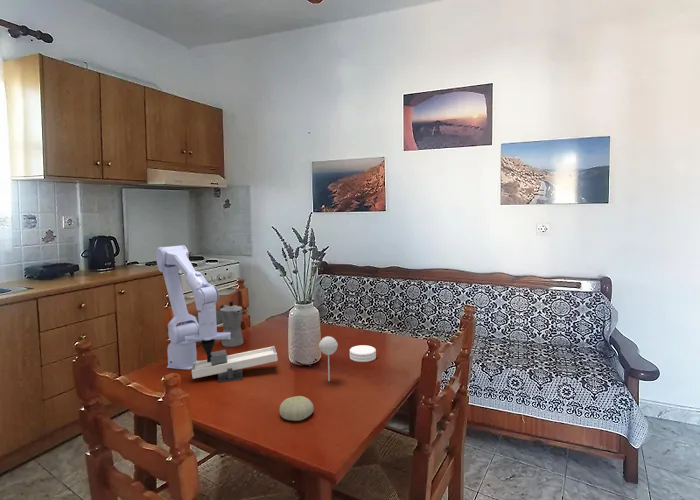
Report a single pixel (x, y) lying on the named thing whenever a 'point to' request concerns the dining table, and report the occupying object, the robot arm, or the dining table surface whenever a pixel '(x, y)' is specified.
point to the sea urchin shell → (296, 408)
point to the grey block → (219, 357)
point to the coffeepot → (232, 324)
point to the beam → (235, 362)
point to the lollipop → (328, 348)
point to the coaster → (362, 353)
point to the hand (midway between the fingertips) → (209, 361)
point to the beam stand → (230, 375)
